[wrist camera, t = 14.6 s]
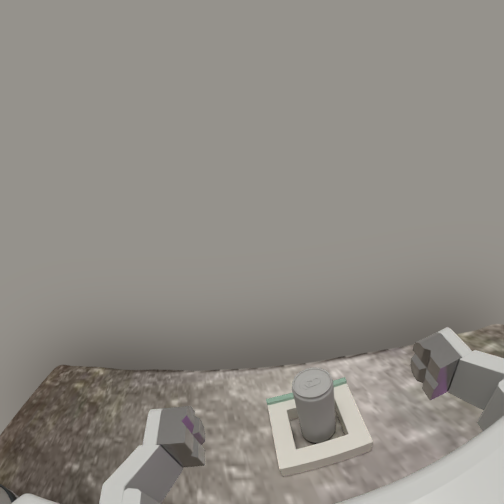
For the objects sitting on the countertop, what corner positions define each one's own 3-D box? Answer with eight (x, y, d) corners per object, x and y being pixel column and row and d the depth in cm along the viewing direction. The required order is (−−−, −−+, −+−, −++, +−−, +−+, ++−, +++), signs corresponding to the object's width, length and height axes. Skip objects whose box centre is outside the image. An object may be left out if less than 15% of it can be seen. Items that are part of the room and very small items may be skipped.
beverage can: (297, 424, 36) (285, 375, 32) (328, 413, 37) (323, 361, 32) (308, 449, 32) (298, 404, 27) (341, 436, 33) (340, 387, 28)
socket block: (283, 476, 29) (278, 467, 27) (270, 411, 40) (266, 399, 39) (370, 450, 29) (373, 439, 27) (345, 391, 40) (344, 377, 39)
